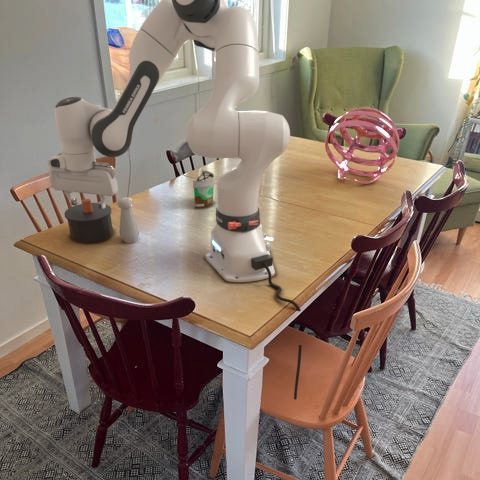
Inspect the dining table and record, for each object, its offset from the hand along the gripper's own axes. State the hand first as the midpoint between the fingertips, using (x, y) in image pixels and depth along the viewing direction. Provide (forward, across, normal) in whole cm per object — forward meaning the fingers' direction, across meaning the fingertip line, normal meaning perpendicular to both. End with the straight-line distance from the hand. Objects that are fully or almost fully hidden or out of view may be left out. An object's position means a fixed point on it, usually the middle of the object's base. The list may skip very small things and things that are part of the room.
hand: (88, 206), depth 144 cm
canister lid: (+2, 0, +1) cm, 2 cm away
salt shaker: (+9, -13, +1) cm, 16 cm away
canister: (+9, 0, +1) cm, 9 cm away
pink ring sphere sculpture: (+10, -77, -75) cm, 108 cm away
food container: (+9, -27, -33) cm, 43 cm away
